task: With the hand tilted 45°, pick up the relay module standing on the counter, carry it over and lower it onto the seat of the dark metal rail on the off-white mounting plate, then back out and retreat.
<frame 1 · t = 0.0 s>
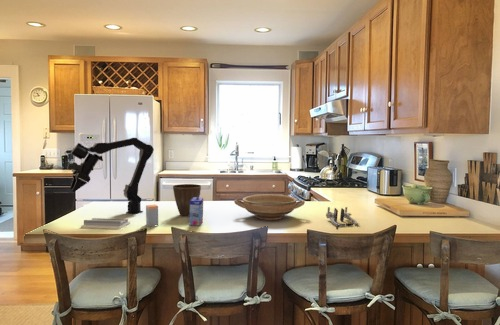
hand: (71, 190, 186), 15 cm above the countertop, tool tilted 35°, fingers open, 9 cm apart
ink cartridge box: (196, 223, 178), on the countertop
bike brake: (343, 224, 178), on the countertop
plant pot: (187, 215, 197), on the countertop
module: (152, 225, 175), on the countertop
rail plate: (106, 225, 174), on the countertop
ceramic bowl: (269, 217, 193), on the countertop
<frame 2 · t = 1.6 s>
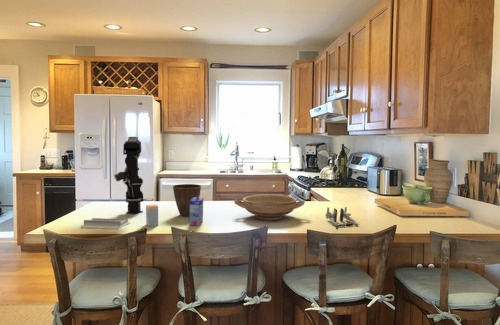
hand: (132, 196, 184), 12 cm above the countertop, tool pointing down, fingers open, 9 cm apart
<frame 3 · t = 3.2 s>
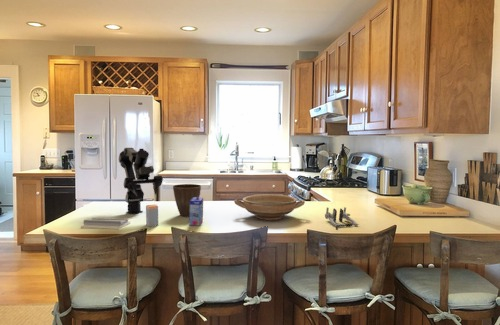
hand: (146, 195, 181), 13 cm above the countertop, tool tilted 45°, fingers open, 9 cm apart
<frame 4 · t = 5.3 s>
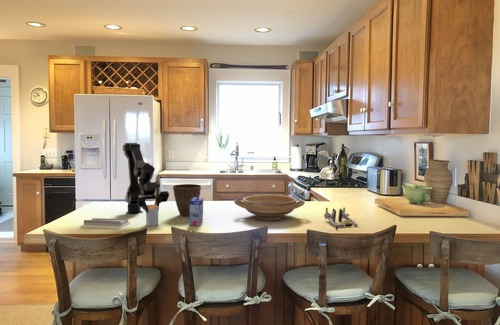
hand: (152, 212, 173), 7 cm above the countertop, tool tilted 45°, fingers closed on module, 4 cm apart
module: (152, 225, 175), on the countertop, touching gripper
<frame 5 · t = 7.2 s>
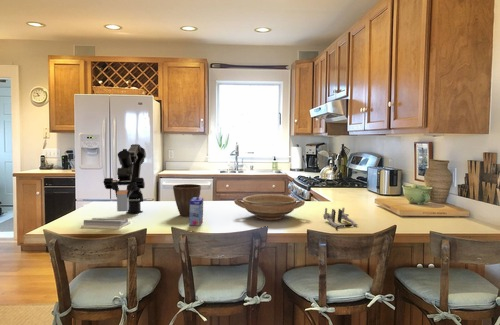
hand: (122, 197, 174), 13 cm above the countertop, tool tilted 45°, fingers closed on module, 4 cm apart
module: (123, 210, 176), point 7 cm above the countertop, touching gripper
when the fingers open (10 cm above the countertop, at t = 9.0 s): module drops 1 cm, resting on rail plate.
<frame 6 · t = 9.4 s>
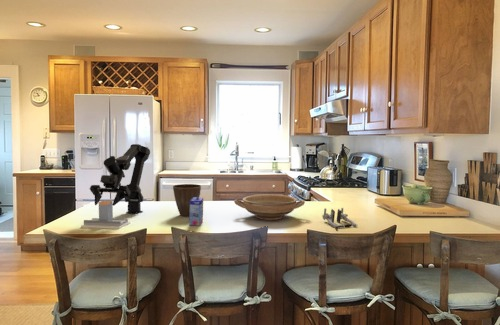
hand: (104, 205, 172), 10 cm above the countertop, tool tilted 45°, fingers open, 9 cm apart
module: (106, 221, 174), point 2 cm above the countertop, touching rail plate
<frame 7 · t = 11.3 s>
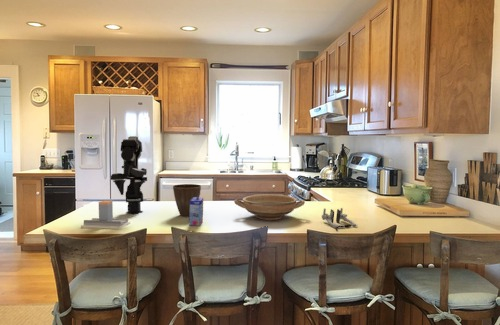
hand: (129, 195, 180), 13 cm above the countertop, tool pointing down, fingers open, 9 cm apart
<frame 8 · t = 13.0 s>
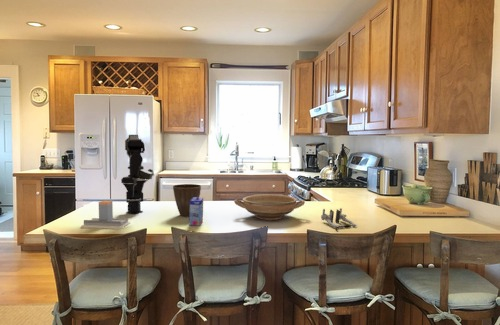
hand: (136, 195, 182), 13 cm above the countertop, tool pointing down, fingers open, 9 cm apart
at the end: module 0.1 cm off-centre on the rail plate, point 2.0 cm above the rail plate's base; module tilted 0°; the gripper is holding nothing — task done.
